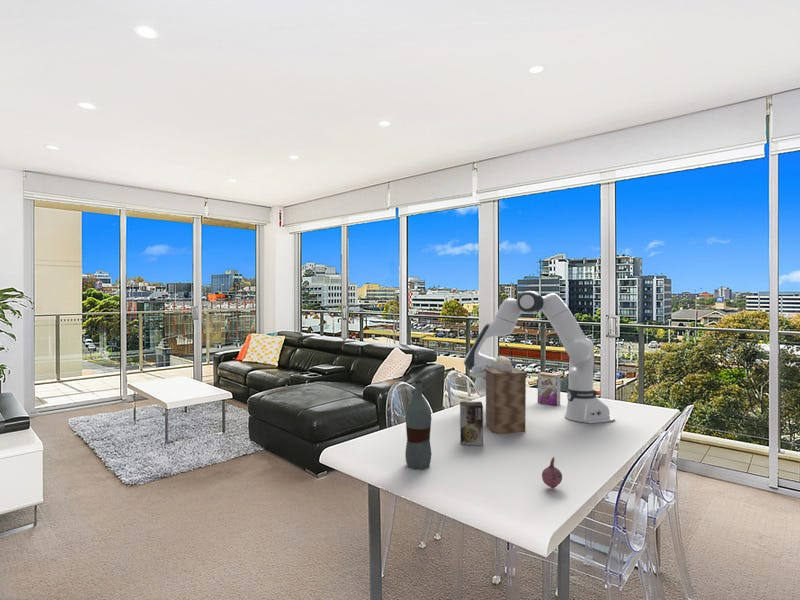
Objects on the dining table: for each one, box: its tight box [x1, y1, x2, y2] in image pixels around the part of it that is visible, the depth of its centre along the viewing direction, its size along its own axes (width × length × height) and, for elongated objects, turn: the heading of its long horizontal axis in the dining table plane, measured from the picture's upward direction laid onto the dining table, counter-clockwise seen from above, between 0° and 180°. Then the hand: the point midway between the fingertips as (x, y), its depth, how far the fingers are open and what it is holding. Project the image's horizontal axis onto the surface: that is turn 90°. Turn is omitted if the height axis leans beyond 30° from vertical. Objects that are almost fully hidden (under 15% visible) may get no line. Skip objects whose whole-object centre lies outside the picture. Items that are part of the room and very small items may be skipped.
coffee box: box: [459, 401, 484, 446], centre depth 189 cm, size 9×6×16 cm
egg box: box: [491, 355, 513, 372], centre depth 213 cm, size 4×18×6 cm, turn 7°
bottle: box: [404, 379, 432, 470], centre depth 164 cm, size 9×9×30 cm
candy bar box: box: [537, 371, 561, 406], centre depth 256 cm, size 11×5×16 cm, turn 49°
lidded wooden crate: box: [485, 367, 528, 434], centre depth 208 cm, size 15×13×26 cm
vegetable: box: [541, 456, 563, 489], centre depth 145 cm, size 6×6×10 cm
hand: (496, 365), depth 220 cm, fingers open, 8 cm apart
